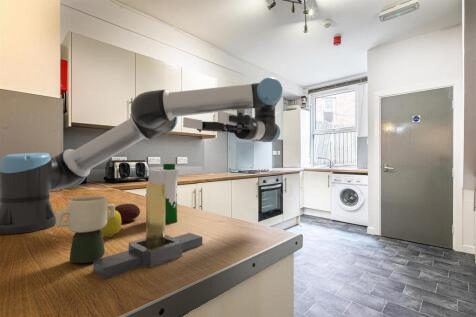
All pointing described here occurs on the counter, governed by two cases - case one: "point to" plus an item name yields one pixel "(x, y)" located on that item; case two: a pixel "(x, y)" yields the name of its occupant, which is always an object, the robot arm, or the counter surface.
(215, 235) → the counter surface
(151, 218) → the link pin
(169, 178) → the milk carton
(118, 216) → the lemon
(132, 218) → the potato
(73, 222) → the character mug
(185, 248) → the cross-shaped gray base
